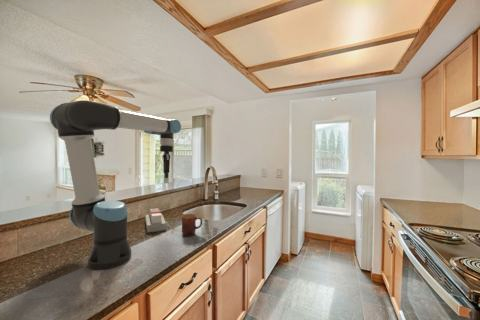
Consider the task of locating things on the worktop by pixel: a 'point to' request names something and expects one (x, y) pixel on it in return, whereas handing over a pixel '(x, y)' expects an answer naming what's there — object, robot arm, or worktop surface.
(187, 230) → the mug
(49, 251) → the worktop surface
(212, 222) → the worktop surface
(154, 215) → the white key
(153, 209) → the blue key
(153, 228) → the key panel
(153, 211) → the red key
